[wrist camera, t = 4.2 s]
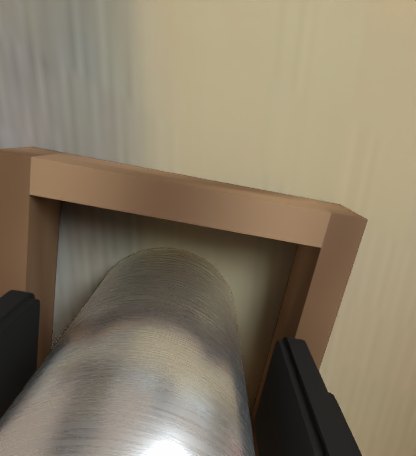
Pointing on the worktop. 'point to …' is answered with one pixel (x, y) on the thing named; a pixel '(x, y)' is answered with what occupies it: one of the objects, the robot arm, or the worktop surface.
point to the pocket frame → (181, 212)
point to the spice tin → (141, 370)
